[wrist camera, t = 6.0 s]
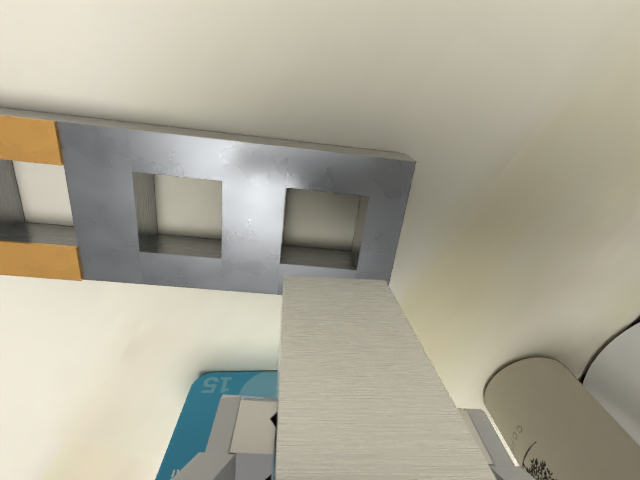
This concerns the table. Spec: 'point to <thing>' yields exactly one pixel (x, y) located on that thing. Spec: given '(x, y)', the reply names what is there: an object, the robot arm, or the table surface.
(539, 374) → the travel mug
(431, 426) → the steel peg
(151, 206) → the hole rail
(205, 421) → the data package
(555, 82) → the table surface
